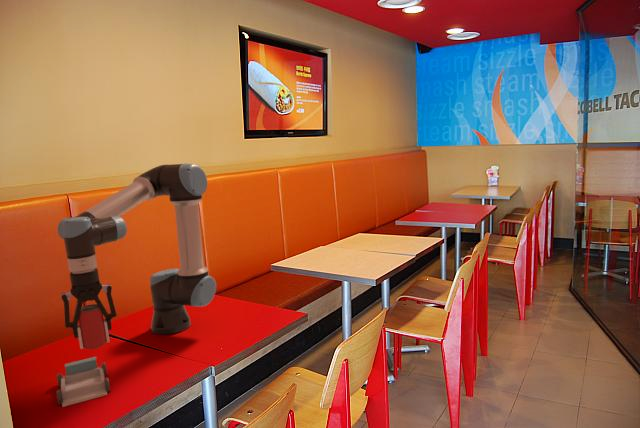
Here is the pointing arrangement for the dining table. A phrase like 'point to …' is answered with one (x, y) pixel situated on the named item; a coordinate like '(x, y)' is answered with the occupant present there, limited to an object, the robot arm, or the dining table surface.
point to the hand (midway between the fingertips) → (94, 343)
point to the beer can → (92, 327)
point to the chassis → (82, 382)
